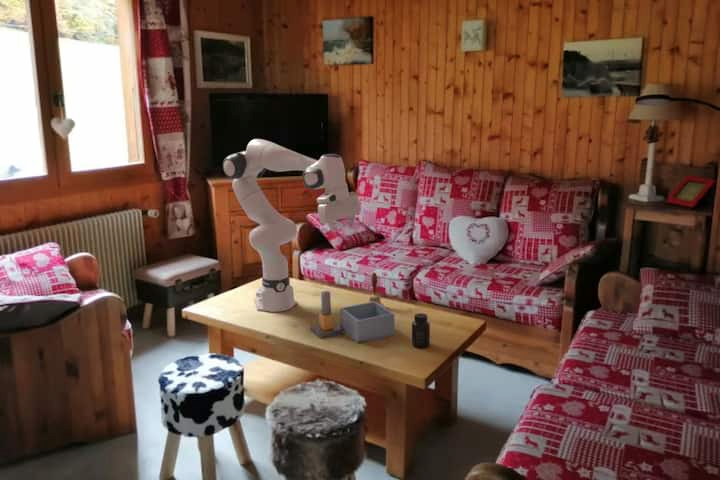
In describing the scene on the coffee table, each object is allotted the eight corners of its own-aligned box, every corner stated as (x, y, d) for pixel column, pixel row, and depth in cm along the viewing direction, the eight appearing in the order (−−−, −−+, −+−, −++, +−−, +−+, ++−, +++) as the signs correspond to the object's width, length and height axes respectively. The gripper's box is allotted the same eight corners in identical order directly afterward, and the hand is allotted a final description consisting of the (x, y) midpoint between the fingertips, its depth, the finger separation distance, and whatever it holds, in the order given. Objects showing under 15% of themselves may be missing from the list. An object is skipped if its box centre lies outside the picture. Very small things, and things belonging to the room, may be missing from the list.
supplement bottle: (433, 344, 223) (433, 314, 220) (422, 350, 218) (423, 320, 215) (418, 339, 227) (419, 310, 224) (408, 345, 222) (408, 315, 219)
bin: (340, 328, 239) (339, 308, 237) (375, 321, 246) (374, 301, 243) (358, 343, 225) (357, 321, 223) (394, 335, 232) (394, 313, 230)
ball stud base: (310, 329, 238) (310, 315, 237) (333, 325, 243) (332, 310, 241) (320, 338, 230) (319, 323, 228) (343, 333, 234) (343, 318, 232)
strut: (319, 326, 237) (318, 291, 233) (329, 324, 238) (328, 290, 235) (323, 330, 233) (322, 295, 229) (334, 327, 235) (333, 293, 231)
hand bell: (361, 307, 263) (361, 272, 259) (375, 302, 268) (375, 269, 264) (374, 312, 257) (373, 277, 253) (388, 307, 262) (387, 273, 258)
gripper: (350, 191, 239) (355, 224, 241) (313, 200, 225) (319, 235, 227) (361, 190, 235) (366, 224, 237) (324, 199, 220) (330, 235, 223)
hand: (343, 229), depth 232 cm, fingers open, 8 cm apart
